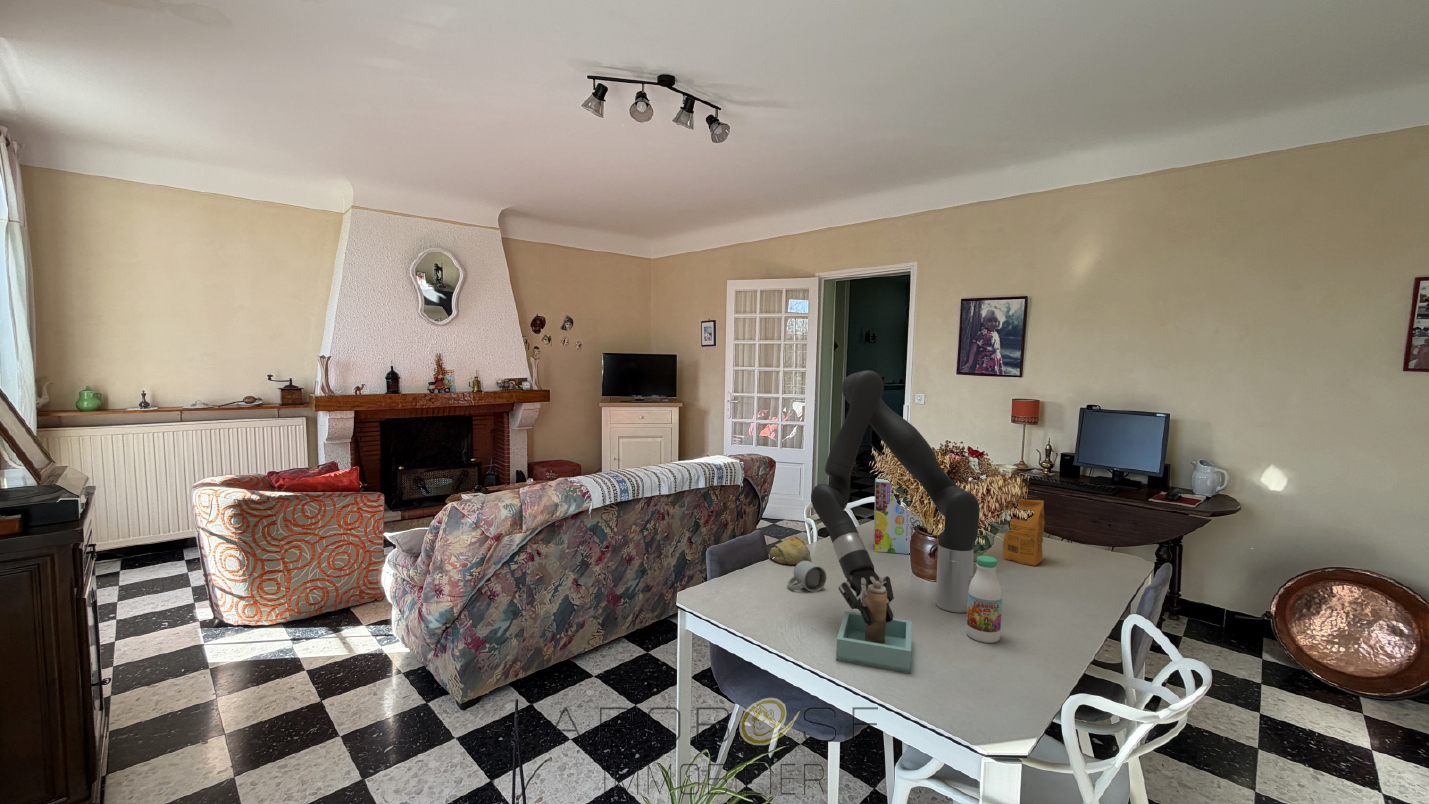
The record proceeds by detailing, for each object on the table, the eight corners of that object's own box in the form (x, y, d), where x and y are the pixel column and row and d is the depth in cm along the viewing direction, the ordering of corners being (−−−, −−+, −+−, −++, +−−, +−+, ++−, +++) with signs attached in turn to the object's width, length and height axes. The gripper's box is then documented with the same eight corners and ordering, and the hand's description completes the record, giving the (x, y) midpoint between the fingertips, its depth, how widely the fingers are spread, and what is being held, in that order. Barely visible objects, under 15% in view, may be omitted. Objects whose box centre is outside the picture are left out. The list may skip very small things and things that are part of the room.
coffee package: (1009, 552, 213) (1012, 492, 212) (1046, 561, 204) (1050, 499, 203) (997, 558, 207) (1000, 496, 205) (1035, 568, 198) (1039, 503, 196)
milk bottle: (961, 629, 151) (964, 552, 150) (991, 629, 151) (995, 553, 150) (973, 643, 144) (977, 563, 142) (1005, 644, 143) (1010, 563, 142)
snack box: (934, 549, 215) (937, 480, 213) (937, 557, 207) (940, 485, 205) (872, 544, 220) (875, 476, 218) (873, 552, 211) (876, 481, 210)
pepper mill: (885, 637, 141) (888, 579, 140) (884, 646, 136) (887, 586, 135) (865, 634, 142) (867, 576, 141) (864, 642, 138) (866, 583, 137)
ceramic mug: (812, 580, 183) (812, 556, 182) (826, 590, 175) (827, 565, 175) (782, 585, 179) (782, 560, 178) (795, 595, 171) (795, 569, 171)
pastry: (816, 559, 203) (817, 536, 202) (802, 570, 192) (803, 546, 192) (779, 551, 210) (780, 529, 210) (763, 561, 200) (764, 538, 199)
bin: (910, 640, 144) (911, 621, 144) (910, 673, 129) (911, 651, 129) (844, 630, 150) (844, 611, 149) (836, 660, 134) (836, 638, 134)
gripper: (834, 551, 142) (862, 621, 132) (883, 545, 147) (914, 612, 137) (821, 565, 147) (847, 633, 137) (869, 559, 153) (898, 624, 142)
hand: (880, 622), depth 137 cm, fingers closed on pepper mill, 4 cm apart
